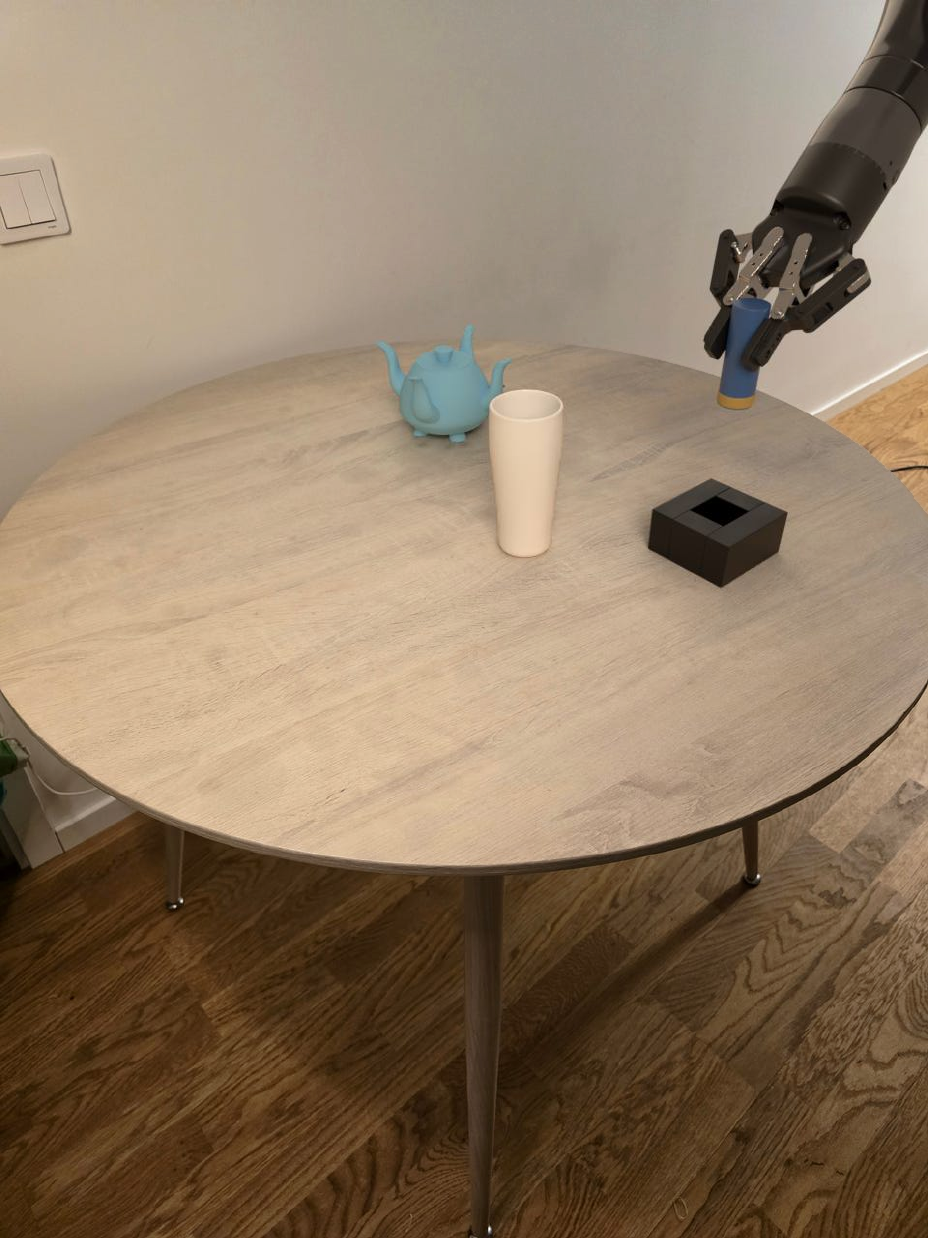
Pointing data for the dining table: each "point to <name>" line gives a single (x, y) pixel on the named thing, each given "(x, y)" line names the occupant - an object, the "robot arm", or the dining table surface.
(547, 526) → the drinking glass
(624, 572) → the dining table surface
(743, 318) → the handle
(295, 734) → the dining table surface
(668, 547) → the holder
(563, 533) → the dining table surface
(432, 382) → the teapot
